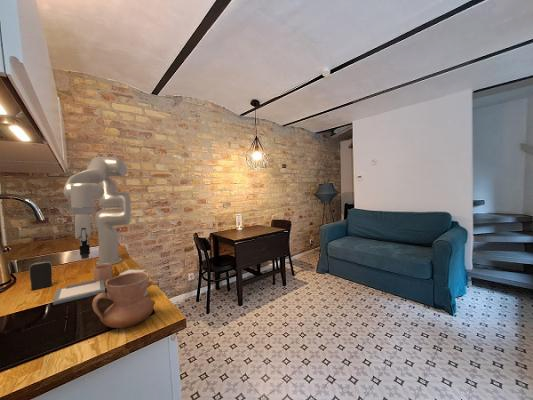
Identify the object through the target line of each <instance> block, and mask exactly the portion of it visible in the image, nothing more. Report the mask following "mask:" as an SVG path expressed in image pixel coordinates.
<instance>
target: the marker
mask: <svg viewBox="0 0 533 400" xmlns="http://www.w3.org/2000/svg"><path fill="white" fill-rule="evenodd" d="M81 238H82V237H81ZM86 238H87V236H86ZM78 241H79V246H80V237H79V238H78ZM88 243H89V248H91V247H90V243H91V242H90V237H89V238H88ZM80 258H81V259H82V260H86V259H89V258H90V254H85V255H80Z"/></svg>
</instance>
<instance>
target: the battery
mask: <svg viewBox="0 0 533 400" xmlns="http://www.w3.org/2000/svg"><path fill="white" fill-rule="evenodd" d="M28 269H29V279H30V290H31V291H35V290H40V289H44V288H49V287H51V286H53V267H52V263H51V261H48V260H47V261H39V262H35V263H32V264H31V265H30V266H29V268H28Z"/></svg>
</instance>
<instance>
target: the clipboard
mask: <svg viewBox="0 0 533 400" xmlns="http://www.w3.org/2000/svg"><path fill="white" fill-rule="evenodd" d="M100 293H106V286H105V281H104V279H103V280H99V281H95V280H94V279H92V280H87V281H83V282H77V283H72V284H68V285H66V287H61V288H57V289H56V292H55V295H54V298H53V301H52V306H55V305H59V304H63V303H66V302H71V301H76V300H79V299H80V300H81V299H84V298H88V297H93V296H95V295H96V296H97V295H98V294H100Z"/></svg>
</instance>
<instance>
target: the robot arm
mask: <svg viewBox="0 0 533 400" xmlns="http://www.w3.org/2000/svg"><path fill="white" fill-rule="evenodd" d="M127 172H128V168H127V165H126V164H125V162H124V161H123V160H122V159H121V158H119V157H117V156H116V157H115V156H95V157H93V158H92V159H91V160H90V162H89V163H88V166H87V168H86V169H85V170H82V171H80V172H78V173H75V174H73V175H71V176H70V177H69V178H68V179H67V180H66V183H65V185H64V187H63V196H64V197H65V199H68V200H70V203H71V205H70V206H71V216H72V217H73V216H74V232H75V233H74V234H75V236H74V237H75V239H76V240H79V237H80V245H79V256H81V255H85V254H89V255H90V254H91V249H90V248H91V247H90V248H89V243H90V242H89V243H88V238H89V239H90V238H91V233H92V215H95V216H94V219H95V223H96V228H97V234H98V235H97V237H98V238H97V241H98V257H99V258H98V259H99V260H98V261H96V264H95V265H96V266H99V265H104V264H111V266H112V265H116V264H119V263H122V261H123V258H122V257H120V256H119V253H120V252H119V251H120V250H119V233H118V230H117V229H116V228H115V227H114V226H125V225H126V226H127V225H129V224H130V223H131V219H132V217H131V216H132V214H131V213H132V212H131V211H132V209H131V208H132V203H131V202H132V200H131V196H130V194H129V192H127V191H126V192H125V191H117V183H116V182H115V181H114V180H113V179H112V178H111V177H118V178H119V177H120V178H121V177H125V176H126V175H127ZM95 200H98V205H99V207H101V208H104V209H103V210H99V211H98V212H96V213H95V205H94V203H95V202H94V201H95ZM106 208H107V209H106ZM114 208H115V209H114ZM117 208H121V209H117ZM86 236H87V238H86ZM81 237H82V238H81Z"/></svg>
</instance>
